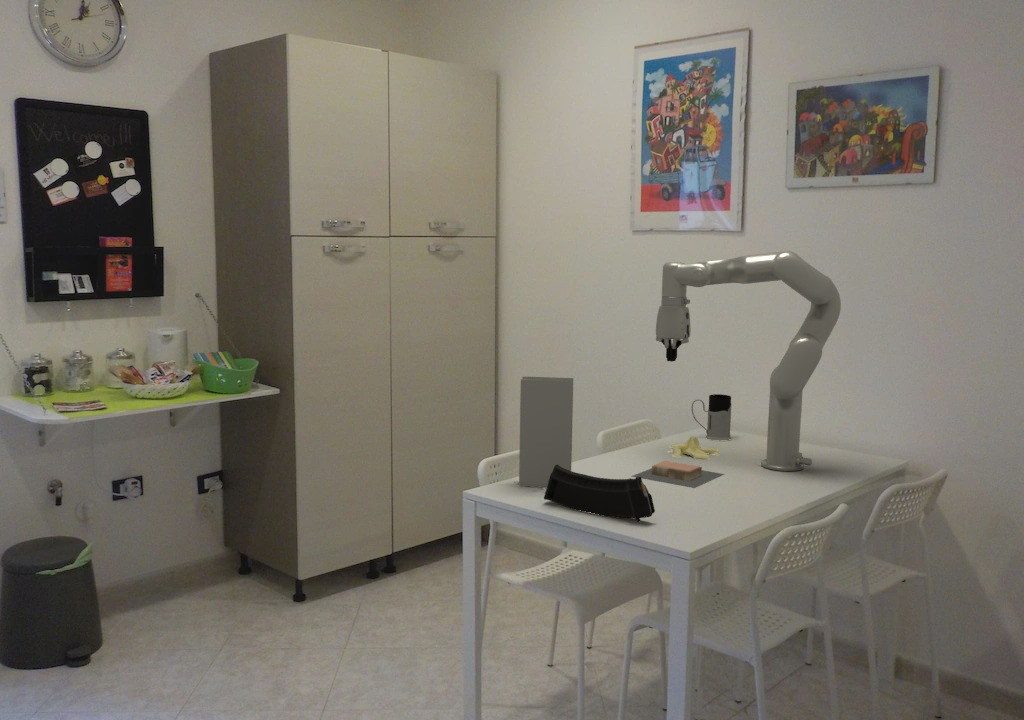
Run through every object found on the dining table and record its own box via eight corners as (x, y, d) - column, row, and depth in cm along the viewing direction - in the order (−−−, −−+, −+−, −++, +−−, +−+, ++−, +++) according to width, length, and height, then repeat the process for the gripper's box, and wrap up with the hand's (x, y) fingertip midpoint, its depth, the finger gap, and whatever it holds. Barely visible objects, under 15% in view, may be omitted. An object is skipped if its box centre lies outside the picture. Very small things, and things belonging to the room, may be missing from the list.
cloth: (675, 445, 317) (676, 427, 316) (728, 452, 307) (729, 434, 307) (648, 457, 299) (649, 438, 298) (704, 465, 289) (705, 446, 288)
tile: (664, 469, 280) (701, 475, 272) (651, 474, 273) (689, 480, 266) (664, 460, 279) (701, 466, 272) (651, 465, 273) (689, 471, 266)
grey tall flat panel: (570, 483, 264) (573, 377, 260) (570, 488, 258) (572, 380, 255) (520, 481, 265) (522, 376, 261) (519, 486, 260) (520, 379, 256)
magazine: (536, 468, 243) (635, 451, 226) (543, 466, 246) (641, 449, 228) (550, 533, 243) (651, 521, 225) (557, 530, 245) (657, 518, 228)
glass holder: (734, 441, 323) (736, 398, 321) (693, 441, 322) (695, 398, 320) (727, 435, 331) (729, 394, 329) (687, 435, 331) (689, 393, 329)
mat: (724, 475, 275) (724, 474, 275) (694, 489, 259) (694, 487, 259) (663, 465, 286) (663, 463, 286) (631, 477, 271) (631, 476, 270)
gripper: (701, 303, 289) (698, 361, 292) (657, 300, 298) (655, 357, 300) (691, 304, 283) (688, 364, 285) (646, 301, 291) (644, 360, 294)
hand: (671, 360), depth 293 cm, fingers closed
